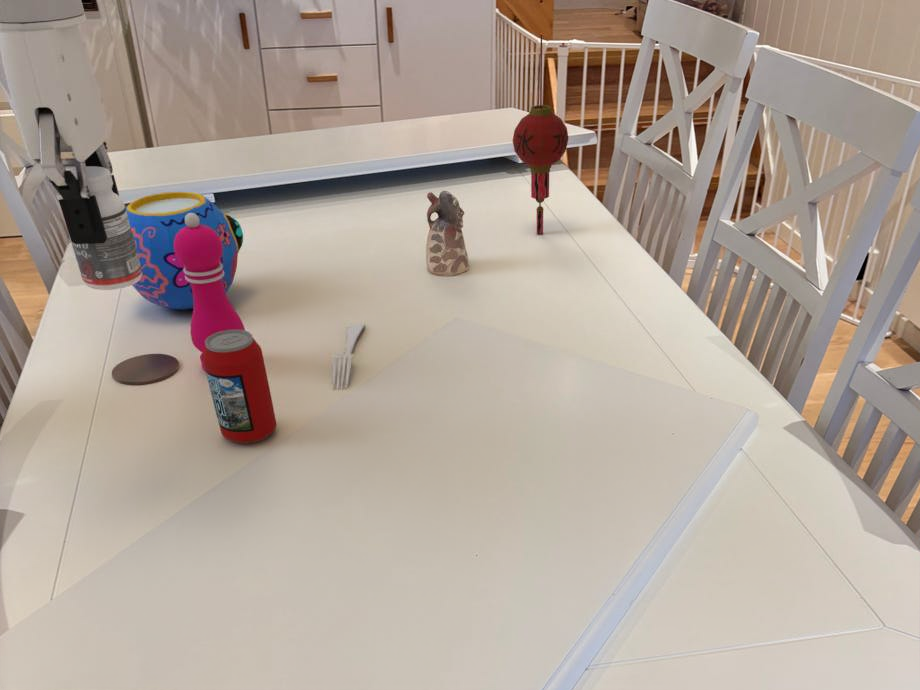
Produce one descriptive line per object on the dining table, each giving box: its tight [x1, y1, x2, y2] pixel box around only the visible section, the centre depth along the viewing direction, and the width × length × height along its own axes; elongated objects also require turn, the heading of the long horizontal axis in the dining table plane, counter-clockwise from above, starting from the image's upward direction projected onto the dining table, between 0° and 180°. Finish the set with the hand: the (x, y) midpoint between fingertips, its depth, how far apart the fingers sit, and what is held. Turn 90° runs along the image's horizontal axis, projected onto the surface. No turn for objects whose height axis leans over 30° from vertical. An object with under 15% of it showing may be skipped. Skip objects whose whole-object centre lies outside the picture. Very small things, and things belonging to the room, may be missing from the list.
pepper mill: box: [174, 213, 246, 373], centre depth 120 cm, size 7×7×20 cm
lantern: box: [512, 34, 569, 236], centre depth 153 cm, size 10×10×30 cm
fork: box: [332, 323, 365, 391], centre depth 127 cm, size 3×21×3 cm, turn 0°
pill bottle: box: [62, 166, 142, 291], centre depth 87 cm, size 6×6×10 cm
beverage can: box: [202, 330, 277, 444], centre depth 108 cm, size 7×7×12 cm
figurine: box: [425, 190, 470, 277], centre depth 148 cm, size 7×7×12 cm
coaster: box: [111, 353, 180, 386], centre depth 126 cm, size 9×9×1 cm
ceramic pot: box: [125, 191, 244, 310], centre depth 139 cm, size 18×18×15 cm
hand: (99, 229), depth 87 cm, fingers closed on pill bottle, 5 cm apart
